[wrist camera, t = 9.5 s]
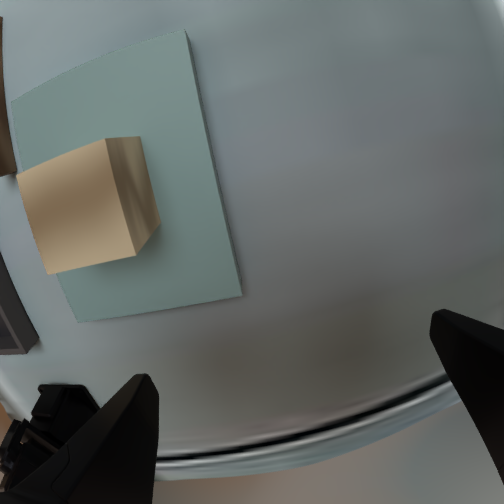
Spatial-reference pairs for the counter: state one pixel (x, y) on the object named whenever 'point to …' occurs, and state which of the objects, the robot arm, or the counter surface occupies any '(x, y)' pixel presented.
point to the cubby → (4, 127)
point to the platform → (159, 168)
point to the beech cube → (90, 204)
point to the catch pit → (13, 319)
